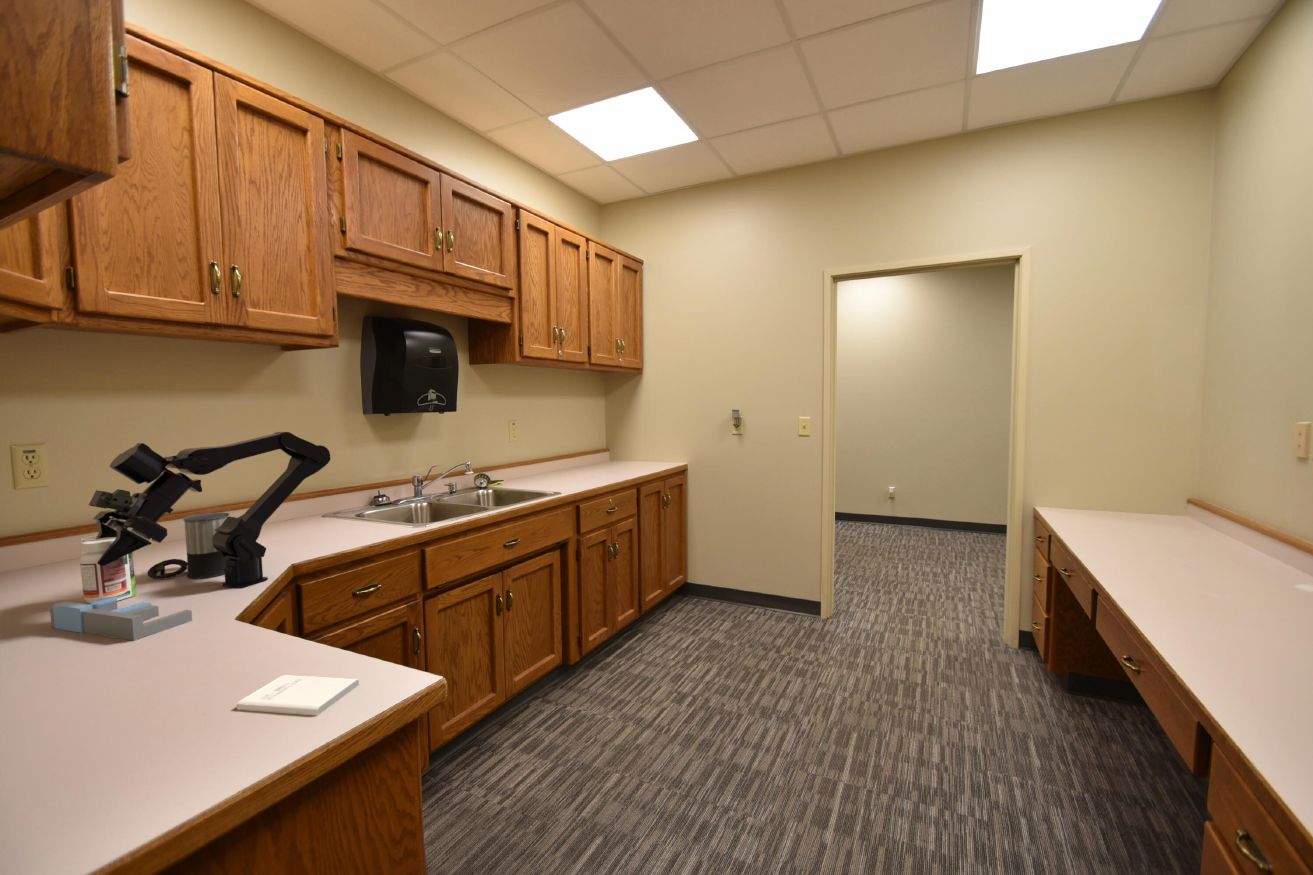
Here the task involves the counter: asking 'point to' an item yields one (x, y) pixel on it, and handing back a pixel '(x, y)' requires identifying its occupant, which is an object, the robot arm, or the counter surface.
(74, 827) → the counter surface
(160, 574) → the milk frother
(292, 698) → the external hard drive
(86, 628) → the divider rack
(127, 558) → the syrup box
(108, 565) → the pill bottle
